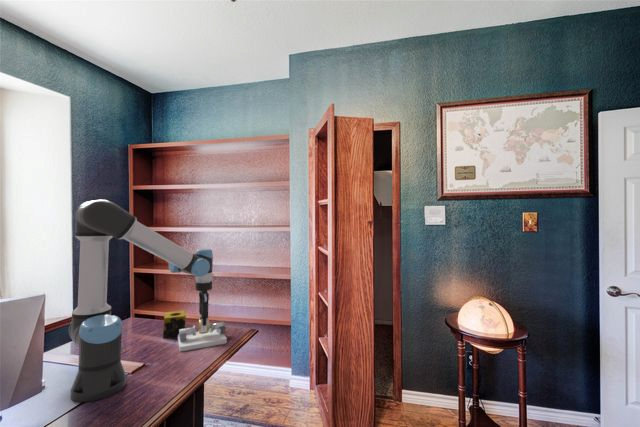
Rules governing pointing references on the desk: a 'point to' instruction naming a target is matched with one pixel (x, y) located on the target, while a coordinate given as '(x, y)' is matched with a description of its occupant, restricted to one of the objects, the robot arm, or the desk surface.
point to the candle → (173, 323)
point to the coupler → (200, 326)
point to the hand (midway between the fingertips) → (203, 329)
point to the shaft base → (198, 339)
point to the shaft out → (217, 327)
